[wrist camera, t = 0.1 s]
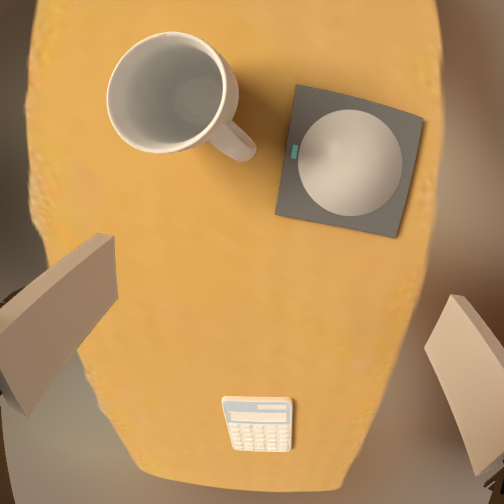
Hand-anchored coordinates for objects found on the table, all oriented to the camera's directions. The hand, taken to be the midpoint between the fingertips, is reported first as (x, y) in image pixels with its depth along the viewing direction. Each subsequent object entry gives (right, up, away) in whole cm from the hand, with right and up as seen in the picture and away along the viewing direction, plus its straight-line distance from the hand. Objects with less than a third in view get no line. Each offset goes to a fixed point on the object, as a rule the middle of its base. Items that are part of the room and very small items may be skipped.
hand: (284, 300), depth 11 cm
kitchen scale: (+11, +12, +24) cm, 29 cm away
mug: (-6, +19, +23) cm, 31 cm away
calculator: (0, -34, +46) cm, 57 cm away
